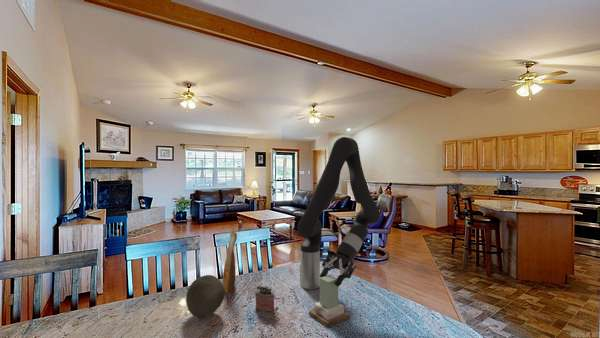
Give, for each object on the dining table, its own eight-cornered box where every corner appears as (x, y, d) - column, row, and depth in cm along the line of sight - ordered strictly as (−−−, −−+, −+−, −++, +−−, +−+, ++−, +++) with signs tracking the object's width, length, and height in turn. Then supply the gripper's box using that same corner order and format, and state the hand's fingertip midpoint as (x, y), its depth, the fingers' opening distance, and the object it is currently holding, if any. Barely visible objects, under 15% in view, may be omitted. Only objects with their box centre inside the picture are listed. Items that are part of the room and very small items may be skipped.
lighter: (275, 311, 114) (275, 286, 114) (272, 315, 111) (272, 289, 111) (257, 308, 117) (257, 283, 117) (253, 311, 114) (253, 286, 114)
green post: (319, 303, 111) (319, 277, 111) (329, 300, 114) (329, 275, 114) (328, 308, 107) (328, 282, 107) (338, 305, 110) (338, 279, 110)
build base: (308, 314, 111) (308, 303, 111) (330, 306, 118) (330, 295, 118) (327, 327, 102) (327, 314, 102) (349, 317, 109) (349, 306, 109)
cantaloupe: (188, 329, 102) (188, 286, 102) (184, 311, 114) (184, 274, 114) (228, 319, 108) (228, 279, 108) (220, 303, 121) (220, 268, 121)
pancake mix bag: (237, 279, 148) (236, 224, 148) (237, 294, 130) (236, 232, 130) (223, 280, 147) (223, 225, 147) (221, 296, 128) (221, 233, 128)
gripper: (333, 238, 121) (311, 270, 114) (358, 245, 109) (336, 282, 103) (342, 248, 124) (322, 281, 117) (367, 256, 112) (346, 293, 106)
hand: (328, 281), depth 110 cm, fingers open, 8 cm apart
